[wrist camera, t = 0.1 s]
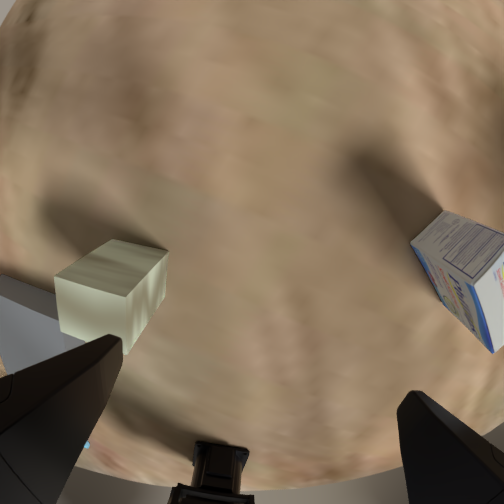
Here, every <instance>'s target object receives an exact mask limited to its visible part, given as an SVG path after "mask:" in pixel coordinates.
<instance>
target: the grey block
mask: <svg viewBox="0 0 504 504" xmlns="http://www.w3.org/2000/svg"><path fill="white" fill-rule="evenodd" d="M83 344H85V341H84V340H81V339H78V338H76V337H73V336H71V335H68V334H65V333H63V332H61V330H60V324H59V317H58V310H57V302H56V294H53V293H50V292H47V291H45V290H42V289H39V288H37V287H34V286H31V285H29V284H26V283H24V282H21V281H19V280H16V279H14V278H11V277H9V276H7V275H4V274H1V275H0V355H1V358H2V361H3V364H4V367H5V369H6V372H7V375H9V374H14V373H15V372H17V371H19V370H22V369H24V368H27V367H29V366H32V365H34V364H37V363H39V362H42V361H44V360H46V359H49V358H51V357H54V356H56V355H59V354H61V353H63V352H66V351H68V350H71V349H73V348H75V347H78V346H80V345H83Z"/></svg>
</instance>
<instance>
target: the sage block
mask: <svg viewBox="0 0 504 504" xmlns="http://www.w3.org/2000/svg"><path fill="white" fill-rule="evenodd" d="M168 256H169V251H166V250H161V249H157V248H152V247H147V246H143V245H138V244H133V243H129V242H124V241H120V240H115V239H111V240H110V241H108V242H106V243H105V244H103V245H101V246H100V247H98V248H97V249H95V250H93V251H92V252H90V253H89V254H87V255H85V256H84V257H82V258H81V259H79V260H78V261H76V262H74V263H73V264H71V265H70V266H68V267H67V268H65V269H64V270H62V271H61V272H59V273H58V274H56V275H55V276H54V282H55V293H56V302H57V310H58V317H59V324H60V330H61V332H63V333H65V334H68V335H71V336H73V337H76V338H78V339H81V340H84V341H87V342H90V341H92V340H95V339H97V338H99V337H102V336H104V335H106V334H112V335H115V336H118V337H120V338H121V339H122V341H123V354H125V355H127V354H128V353H129V351H130V350H131V348H132V346H133V345H134V343H135V342H136V340H137V339H138V337H139V336H140V334H141V332H142V331H143V329H144V328H145V326H146V325H147V323H148V322H149V320H150V319H151V317H152V316H153V314H154V313H155V311H156V309H157V308H158V306H159V305H160V303H161V302H162V300H163V299H164V297H165V288H166V277H167V266H168Z"/></svg>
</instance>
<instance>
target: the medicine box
mask: <svg viewBox="0 0 504 504" xmlns="http://www.w3.org/2000/svg"><path fill="white" fill-rule="evenodd" d="M410 244H411V246H412V248H413V249H414V251H415V253H416V255H417V256H418V258H419V260H420V262H421V263H422V265H423V267H424V269H425V271H426V272H427V274H428V276H429V278H430V280H431V282H432V284H433V286H434V287H435V289H436V291H437V293H438V295H439V297H440V299H441V301H442V303H443V305H444V306H445V307H446V308H447V309H448V310H449V311H450V312H451V313H452V314H453V315H454V316H456V317H457V318H458V319H459V320H460V321H461V322H462V323H463V324H464V325H465V326H466V327H467V328H468V329H469V330H470V331H471V332H472V333H473V334H474V335H475V336H476V337H477V338H478V339H479V341H480V342H481V343H482V344H483V345H484V346H485V347H486V348H487V349H488V350H489V351H490V352H491V353H492V354H493V353H495V352H496V351H498V350H499V349H500V348H501V347H502V346H503V345H504V233H503V232H501V231H498V230H496V229H493V228H491V227H488V226H486V225H483V224H481V223H478V222H476V221H473V220H471V219H468V218H465V217H462V216H460V215H457V214H454V213H452V212H449V211H446V210H444V211H443V212H442V213H441V214H440V215H439V216H438V217H437V218H436V219H435V220H434V221H433V222H432V223H430V224H429V225H428V226H427V227H426V228H425V229H424V230H423V231H422V232H421V233H420V234H419V235H418V236H417V237H415V238H414V239H413V240H412V241H411V242H410Z"/></svg>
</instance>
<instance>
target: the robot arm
mask: <svg viewBox="0 0 504 504" xmlns="http://www.w3.org/2000/svg"><path fill="white" fill-rule="evenodd" d="M122 362H123V341H122V339H121V338H120V337H118V336H115V335H112V334H106V335H104V336H102V337H99V338H97V339H95V340H92V341H90V342H87V343H85V344H83V345H80V346H78V347H75V348H73V349H71V350H68V351H66V352H63V353H61V354H59V355H56V356H54V357H51V358H49V359H46V360H44V361H42V362H39V363H37V364H34V365H32V366H29V367H27V368H24V369H22V370H19V371H17V372H15V373H14V374H9V375H7V376H4V377H2V378H0V504H56V503H57V500H58V498H59V496H60V494H61V492H62V490H63V488H64V485H65V483H66V481H67V479H68V477H69V475H70V473H71V471H72V469H73V467H74V465H75V463H76V461H77V459H78V457H79V455H80V453H81V452H82V450H83V448H84V446H85V444H86V442H87V440H88V438H89V436H90V434H91V432H92V430H93V429H94V427H95V425H96V423H97V421H98V419H99V417H100V416H101V414H102V412H103V410H104V408H105V406H106V403H107V401H108V398H109V396H110V393H111V391H112V388H113V386H114V383H115V381H116V378H117V376H118V374H119V371H120V369H121V366H122ZM397 421H398V431H399V441H400V450H401V457H402V462H403V467H404V473H405V479H406V486H407V492H408V499H409V504H504V453H503V452H502V451H501V450H499V449H498V448H496V447H495V446H494V445H492V444H490V443H489V442H488V441H487V440H486V439H484V438H483V437H482V436H480V435H479V434H478V433H476V432H475V431H474V430H472V429H471V428H470V427H468V426H467V425H466V424H464V423H463V422H462V421H460V420H459V419H458V418H456V417H455V416H454V415H452V414H451V413H450V412H449V411H447V410H446V409H445V408H443V407H442V406H441V405H439V404H438V403H437V402H435V401H434V400H433V399H431V398H430V397H429V396H427V395H426V394H425V393H424V392H422V391H418V390H412V391H410V392H409V393H408V394H407V395H406V397H405V398H404V400H403V401H402V402H401V404H400V405H399V407H398V409H397ZM248 456H249V450H246V449H240V448H233V447H227V446H221V445H215V444H210V443H205V442H200V441H197V442H196V443H195V448H194V456H193V464H192V465H193V466H194V472H193V477H192V481H191V486H187V485H183V484H181V483H178V485H177V486H176V487H172V490H171V494H170V498H169V501H168V503H167V504H255V503H254V495H243V494H240V485H241V473H242V471H243V468H244V466H245V464H246V461H247V459H248Z"/></svg>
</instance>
